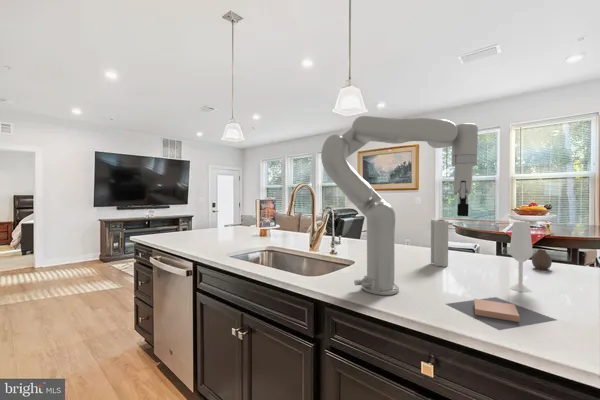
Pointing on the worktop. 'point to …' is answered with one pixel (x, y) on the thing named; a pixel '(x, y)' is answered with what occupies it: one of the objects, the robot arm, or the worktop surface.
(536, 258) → the patterned egg
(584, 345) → the worktop surface
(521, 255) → the champagne flute
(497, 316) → the tile
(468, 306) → the mat
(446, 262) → the grey tall block
